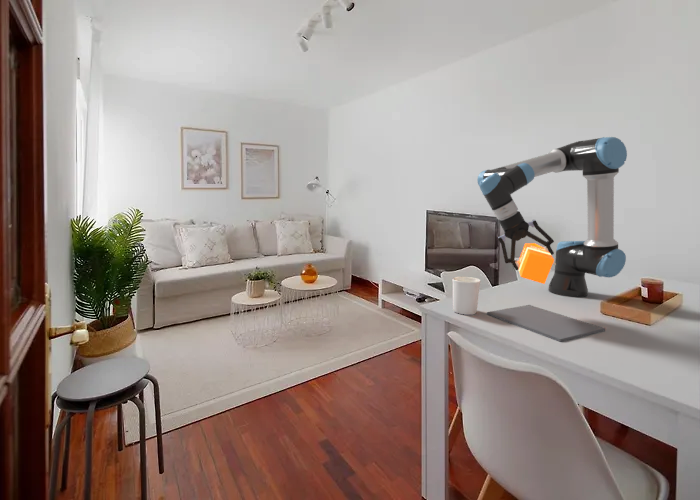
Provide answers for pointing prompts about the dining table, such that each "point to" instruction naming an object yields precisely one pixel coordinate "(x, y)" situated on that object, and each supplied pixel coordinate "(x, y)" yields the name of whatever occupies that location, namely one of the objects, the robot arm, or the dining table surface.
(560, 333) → the mat
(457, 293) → the white cup
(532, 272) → the orange juice
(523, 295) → the dining table surface
